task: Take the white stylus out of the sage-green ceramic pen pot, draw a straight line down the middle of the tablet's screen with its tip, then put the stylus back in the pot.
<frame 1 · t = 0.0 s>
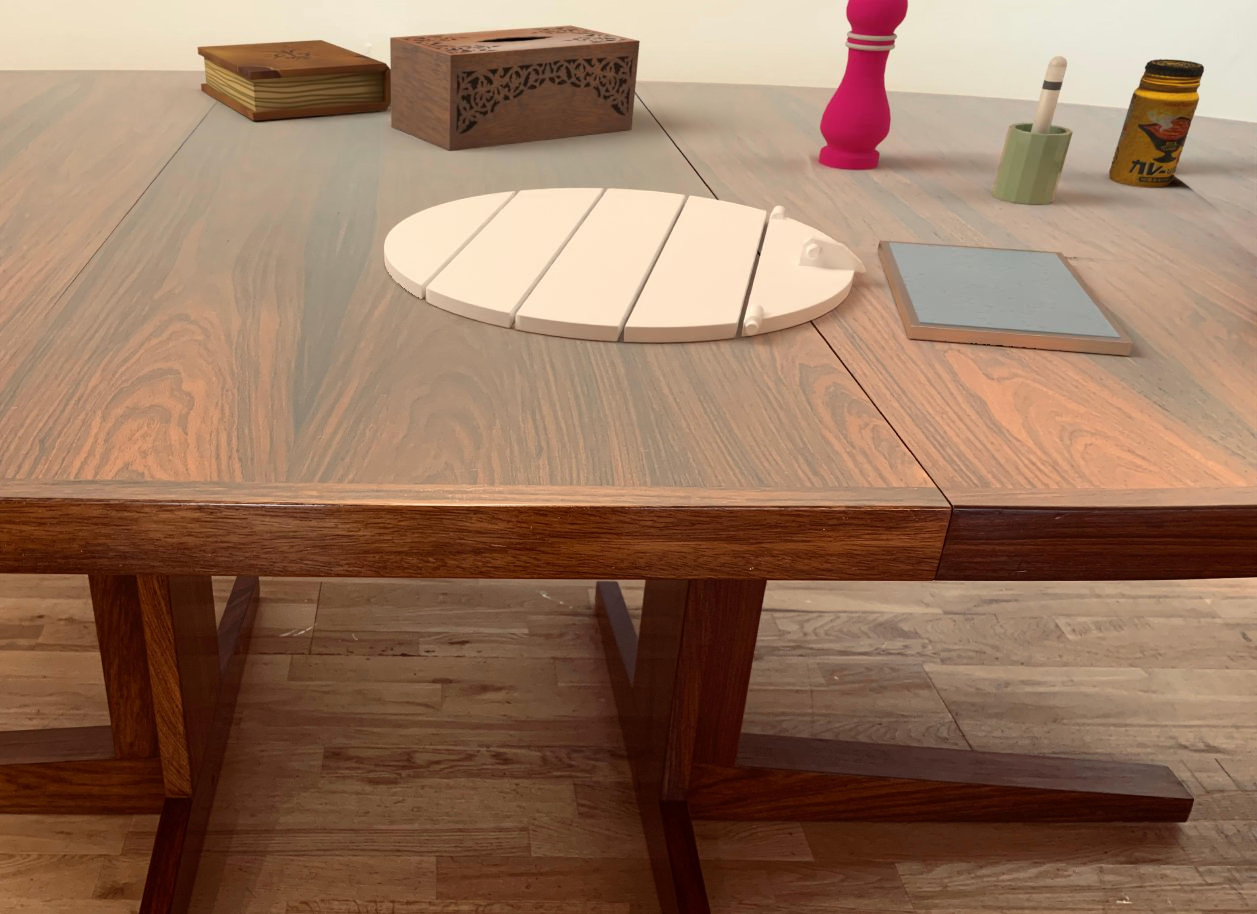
diary: (293, 102, 160), on the table
pen pot: (1021, 202, 120), on the table
tablet: (989, 298, 95), on the table
pepper mill: (846, 169, 132), on the table
lazy susan: (618, 262, 102), on the table
tissue box cover: (511, 129, 147), on the table
condiment: (1128, 185, 127), on the table
stylus: (1022, 197, 120), resting on pen pot
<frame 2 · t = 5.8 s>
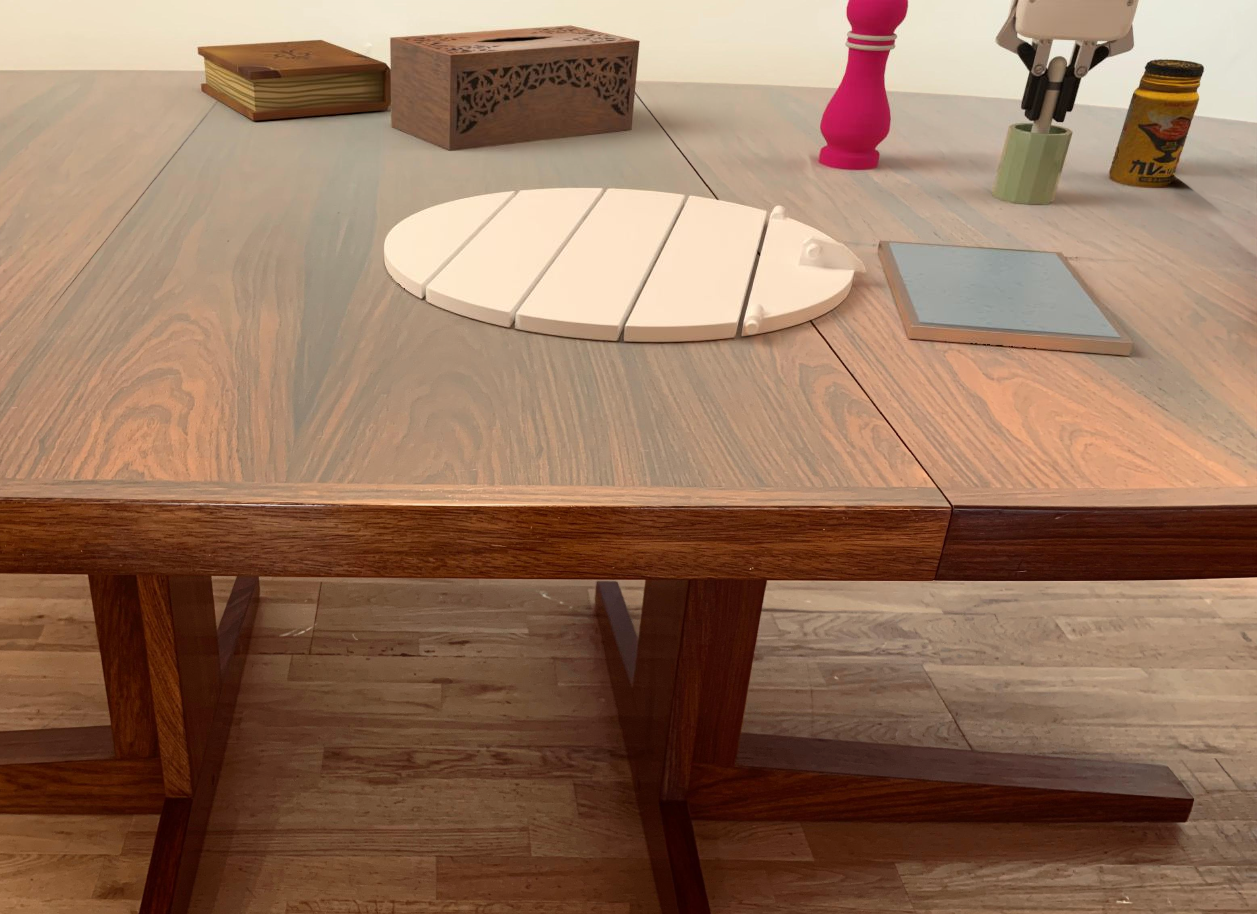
hand: (1043, 117, 116), 8 cm above the table, tool pointing down, fingers closed on stylus, 1 cm apart
stylus: (1022, 197, 120), point 1 cm above the table, touching gripper
everything else where it was.
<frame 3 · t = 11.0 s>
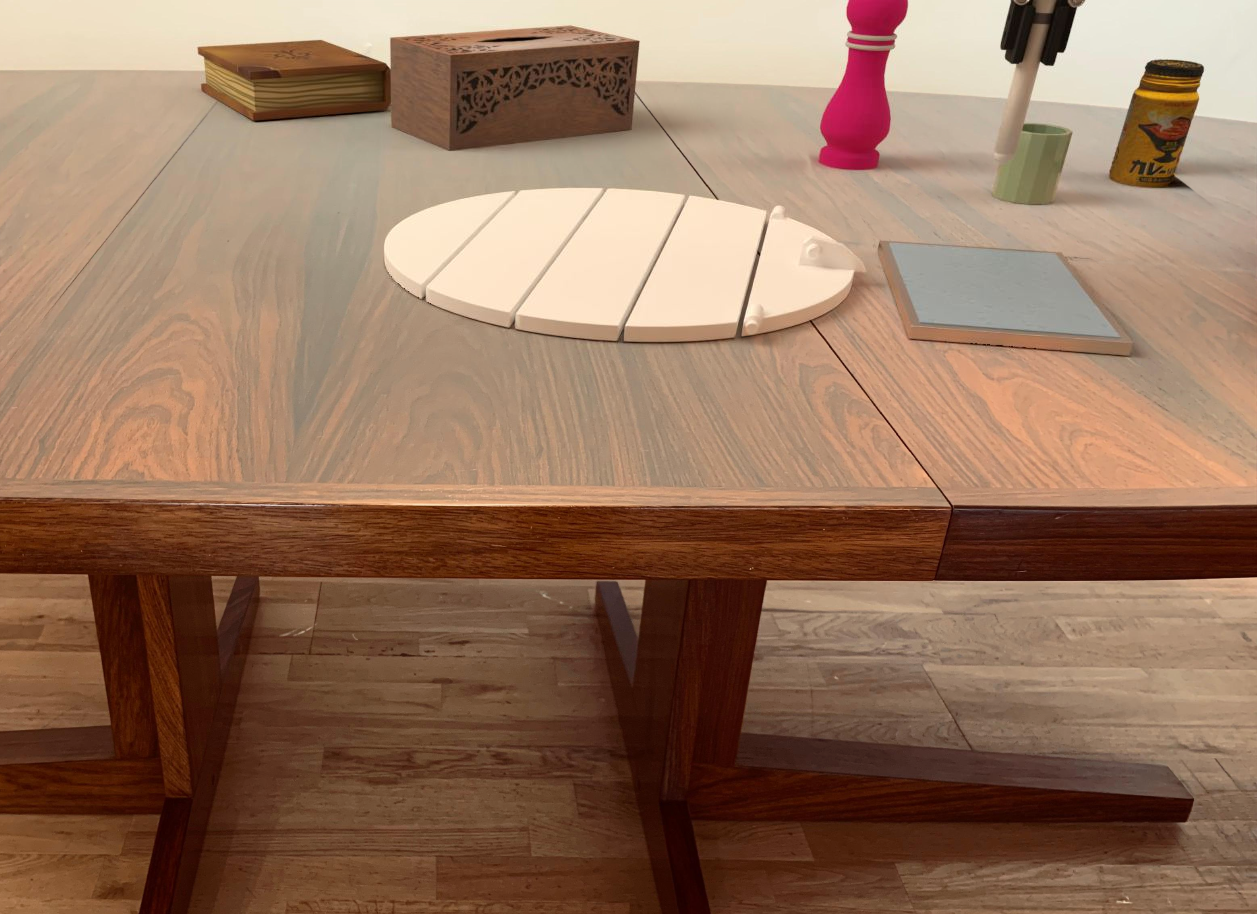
hand: (1028, 60, 91), 17 cm above the table, tool pointing down, fingers closed on stylus
stylus: (1002, 162, 95), point 9 cm above the table, touching gripper
everything else where it was.
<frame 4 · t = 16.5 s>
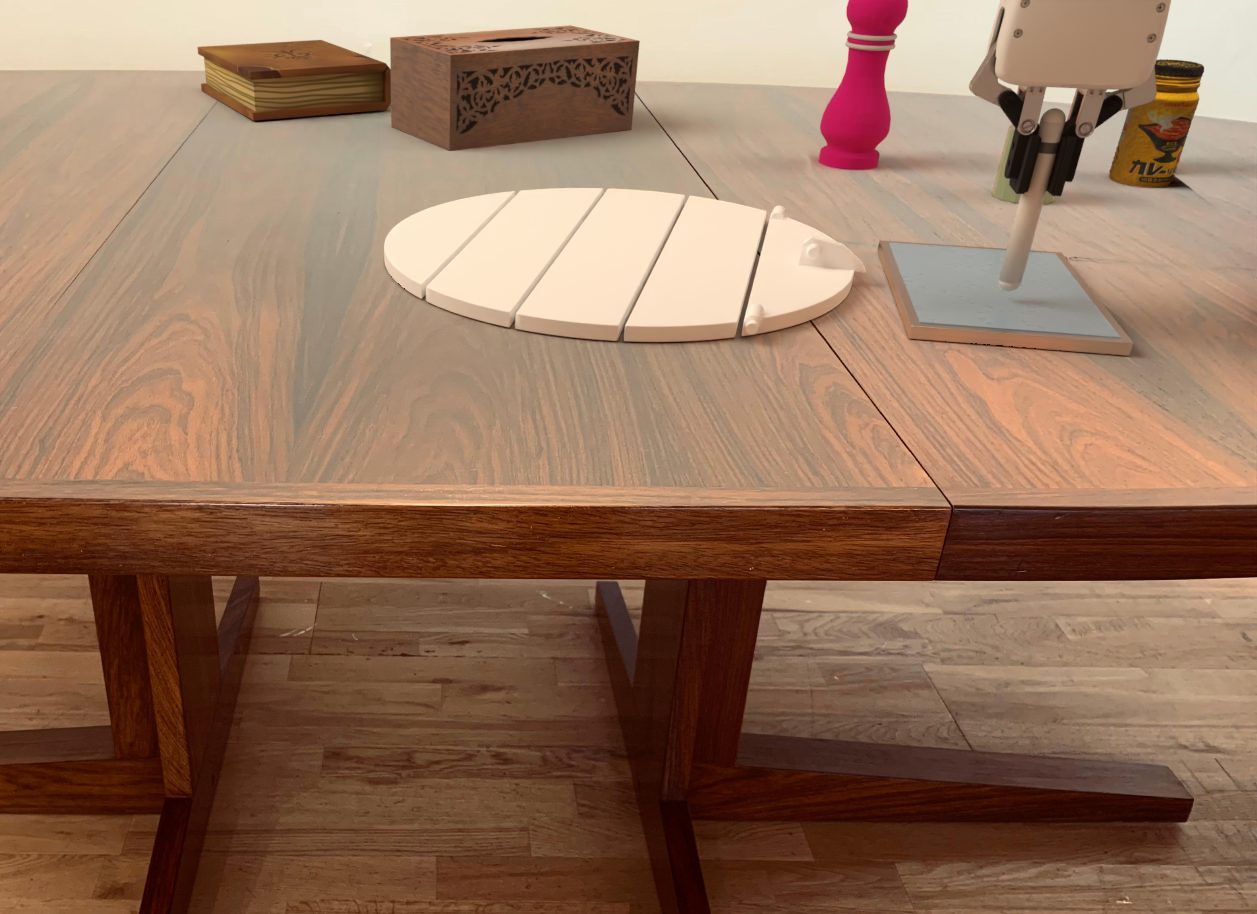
hand: (1034, 188, 86), 9 cm above the table, tool pointing down, fingers closed on stylus, 1 cm apart
stylus: (1007, 290, 90), point 2 cm above the table, touching gripper
everything else where it was.
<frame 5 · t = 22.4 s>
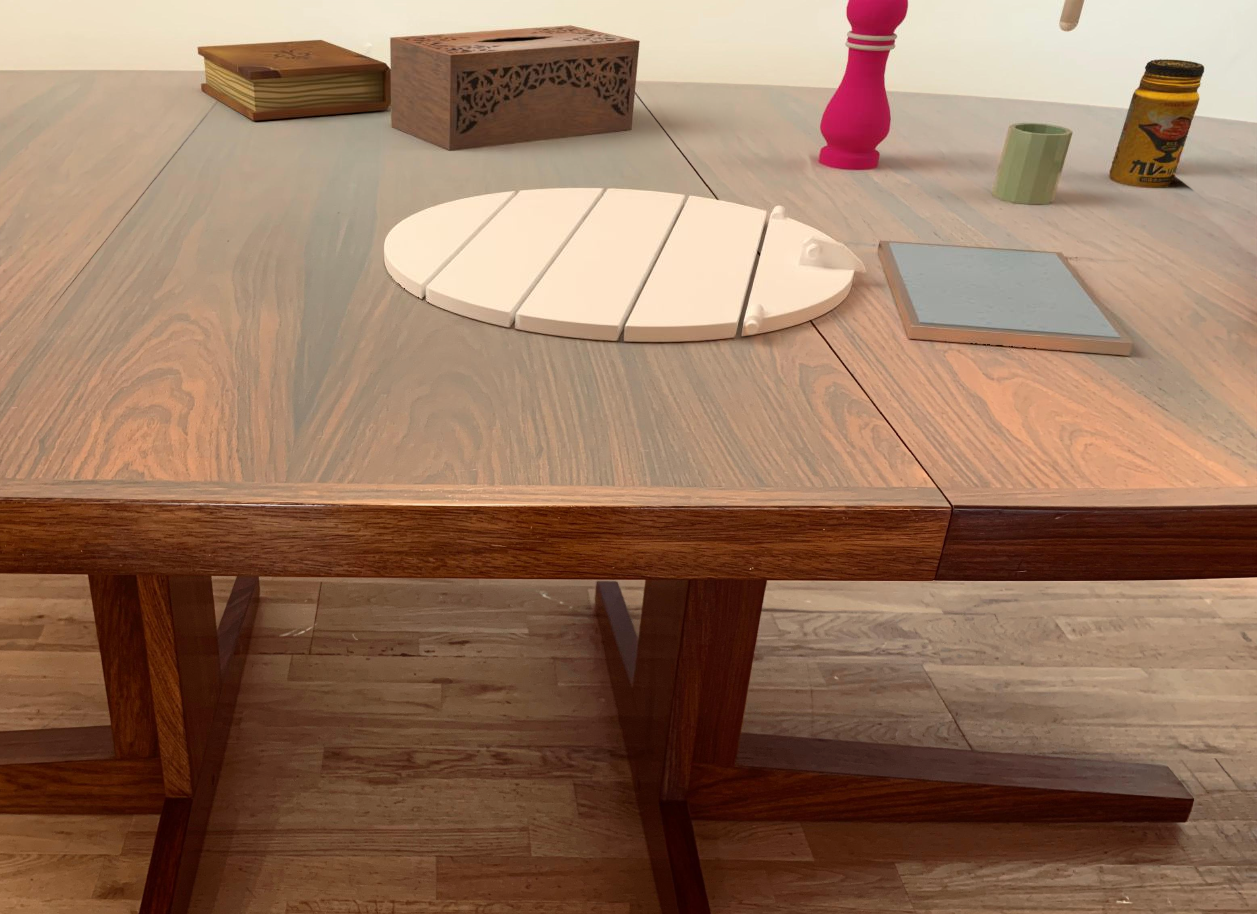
stylus: (1066, 31, 111), point 16 cm above the table, touching gripper
everything else where it was.
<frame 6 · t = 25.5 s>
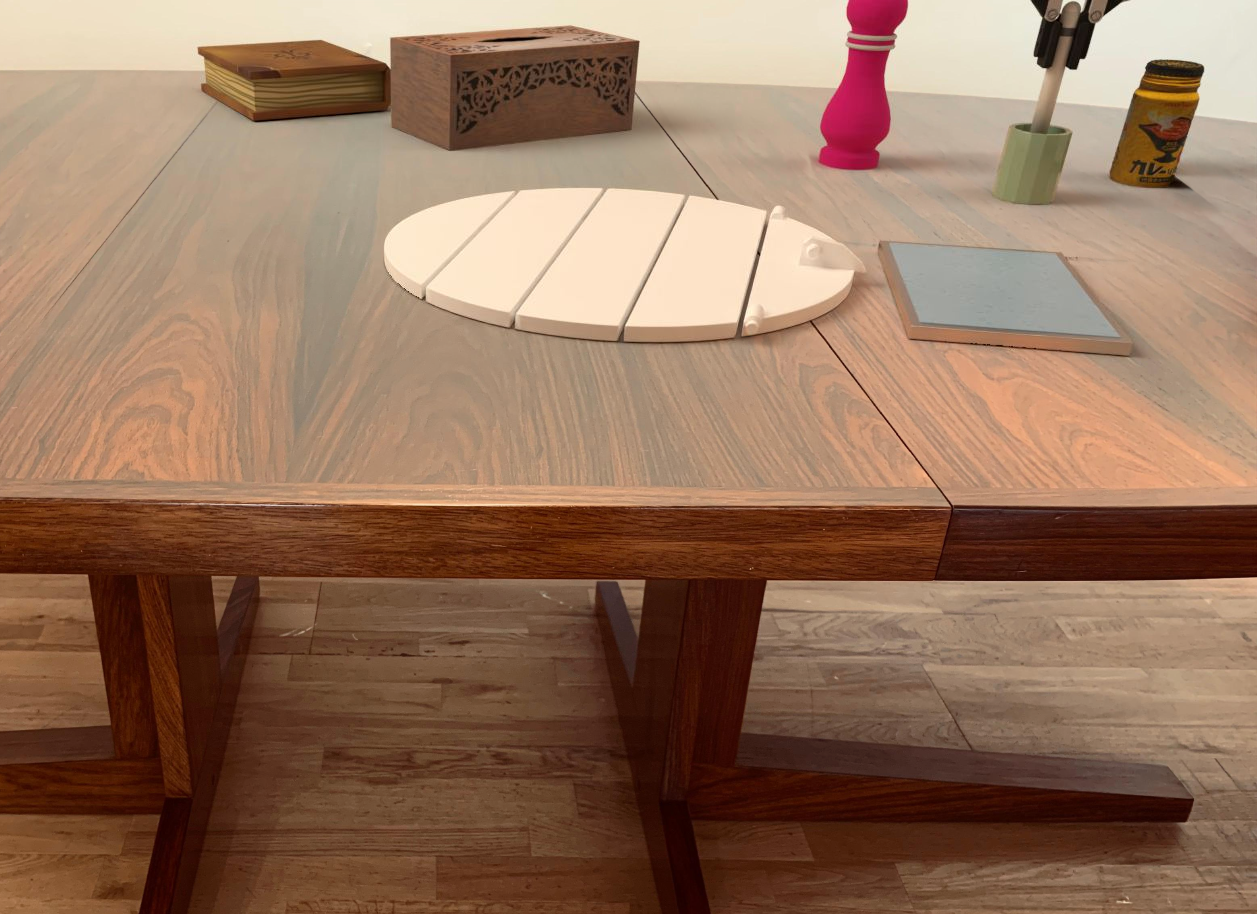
hand: (1056, 65, 113), 13 cm above the table, tool pointing down, fingers closed on stylus
stylus: (1034, 148, 117), point 5 cm above the table, touching gripper
everything else where it was.
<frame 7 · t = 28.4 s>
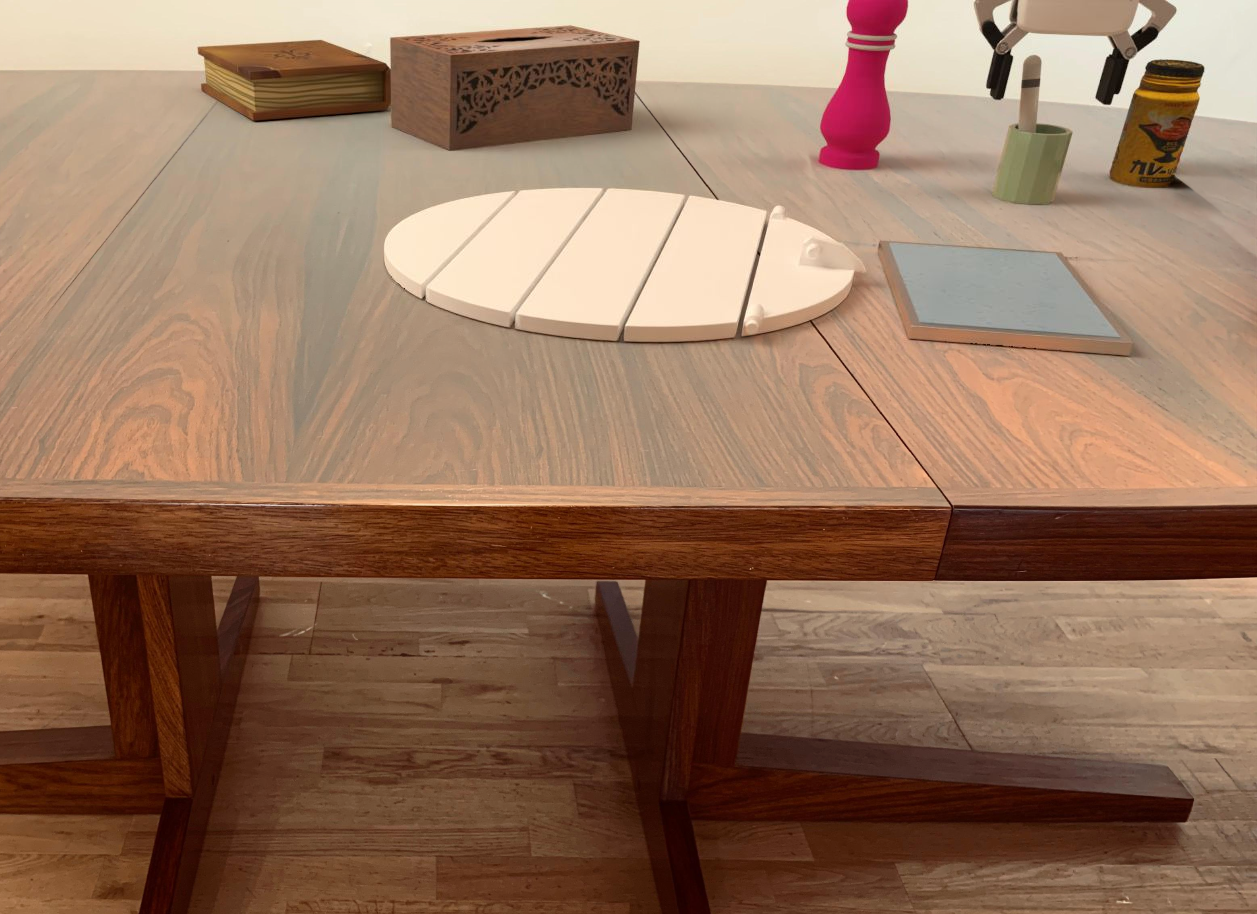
hand: (1048, 100, 115), 10 cm above the table, tool pointing down, fingers open, 9 cm apart
stylus: (1021, 196, 120), point 1 cm above the table, tilted 12°, touching pen pot
everything else where it was.
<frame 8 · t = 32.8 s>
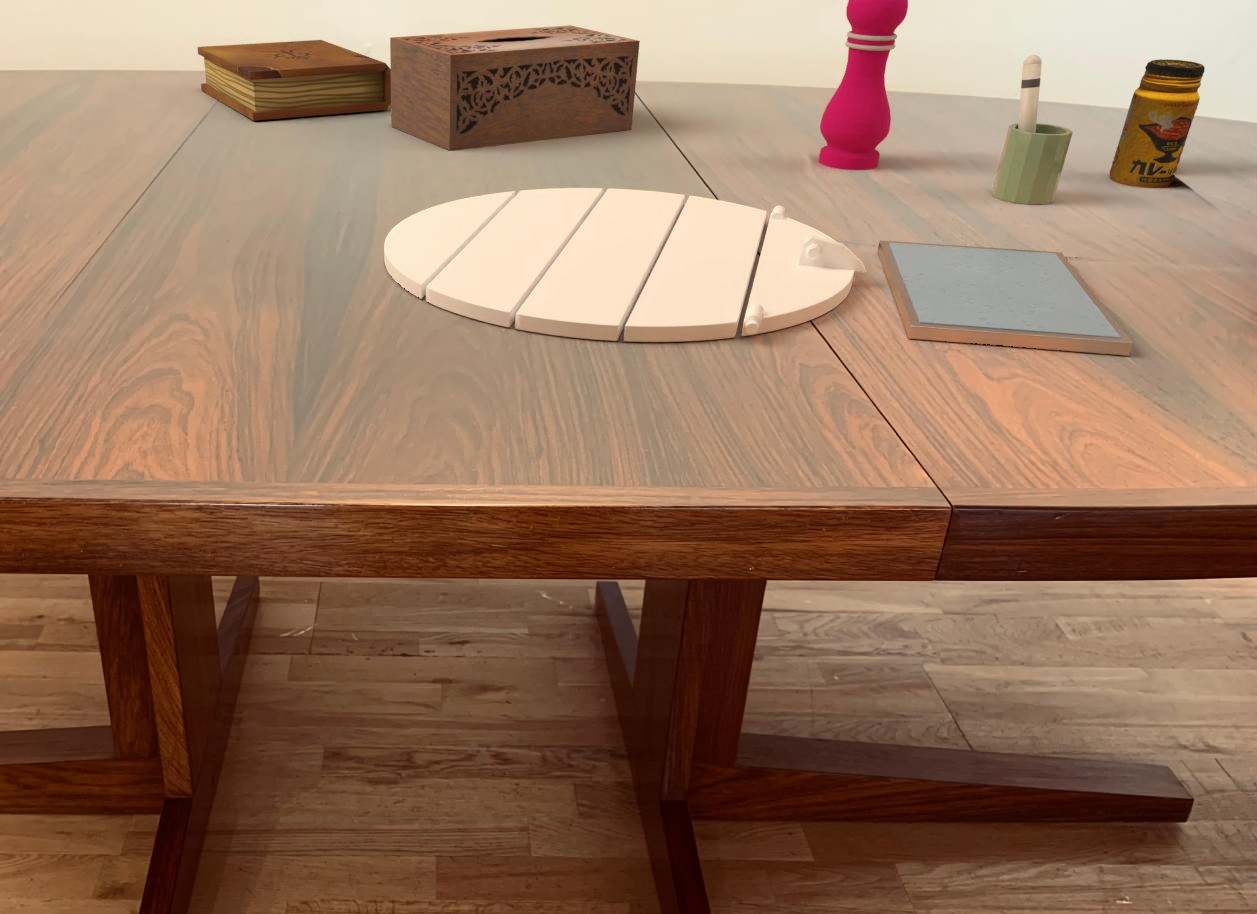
nothing on the table moved.
at the end: stylus 0.1 cm off-centre in the pen pot, point 0.5 cm above the pen pot's base; stylus tilted 12°; stylus touching pen pot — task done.
